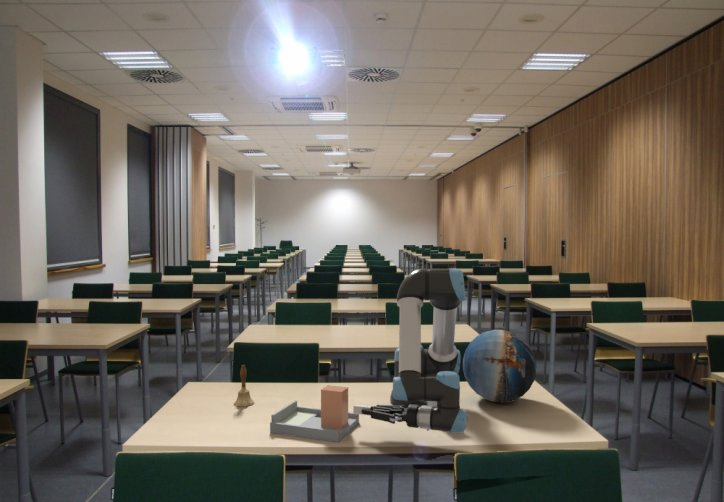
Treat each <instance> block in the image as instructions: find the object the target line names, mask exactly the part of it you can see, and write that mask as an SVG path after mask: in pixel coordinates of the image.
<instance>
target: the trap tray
mask: <svg viewBox="0 0 724 502" xmlns="http://www.w3.org/2000/svg"><path fill="white" fill-rule="evenodd" d="M270 416H271V419H270V420H271V422H270V423H269V433H271V434H278V435H285V436H294V437H298V438H299V437H300V438H306V439H314V440H320V441H327V442H328V441H329V442H335V443H339V442H340V441H341V440H342V439H343V438H344V437H346V436H347V435H348V434H349V433H350V432H351V431H352V430H353V429H354V428H355V427H356V426H357V425H358V424H360V414H354V413H353V412H351V411H350V412H349V411H348V424H347V425H346V426H345V427H343V428H342V429H340V428H332V427H325V426H321V408H317V407H308V406H300V405H298V400H296V399H295V400H292V401H291V402H290V403H288V404H286V405H284V406H283V407H282V408H280V409H278V410H277V411H275V412H274V413H272V414H271V415H270Z"/></svg>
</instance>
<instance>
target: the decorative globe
mask: <svg viewBox="0 0 724 502" xmlns="http://www.w3.org/2000/svg"><path fill="white" fill-rule="evenodd" d="M467 345H468V346H467V347H466V349H465V351H464V354H463V358H462V371H463V374H464V379H465V381H466V382H467V384H468V386H469V388H471V389H472V390H473V391H474V392H475V393H476V394H477V395H478V396H479V397H482V398H483V399H484V400H487V401H490V402H493V403H504V404H505V403H508V402H513V401H516V400H517V399H519V398H522V397H524V396H525V395H526V394H527V392H529V390H530V389H531V388H532V385H533V383H534V382H535V380H536V375H537V360H536V358H535V353H534V352H533V350H532V348H531V347H530V345H529V344H528V343H527V342H526V341H525V340H524V339H523V338H522V337H521V336H519V335H517V334H516V333H514V332H512V331H508V330H506V329H491V330H488V331H484V332H482V333H480V334H478V335H477V336H476V337H474V339H472V340H471V341H470V342H469V344H467Z"/></svg>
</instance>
